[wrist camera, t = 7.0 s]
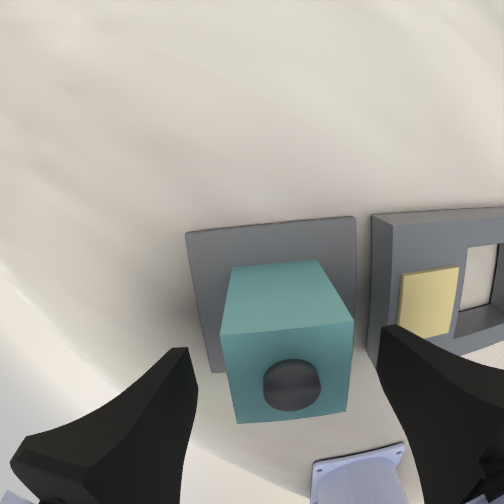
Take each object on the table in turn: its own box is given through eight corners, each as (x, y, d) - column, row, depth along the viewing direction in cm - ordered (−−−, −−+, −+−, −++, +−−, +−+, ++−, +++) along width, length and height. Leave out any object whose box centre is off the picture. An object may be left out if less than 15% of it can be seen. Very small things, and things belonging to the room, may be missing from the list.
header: (521, 309, 16) (543, 325, 13) (366, 351, 16) (381, 380, 14) (537, 205, 14) (564, 214, 11) (371, 214, 14) (395, 227, 12)
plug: (318, 331, 16) (349, 422, 9) (242, 338, 16) (236, 435, 9) (316, 258, 14) (359, 330, 8) (232, 267, 15) (217, 346, 8)
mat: (350, 354, 16) (352, 358, 16) (212, 368, 17) (211, 372, 16) (353, 216, 14) (355, 217, 14) (186, 232, 14) (184, 234, 14)
